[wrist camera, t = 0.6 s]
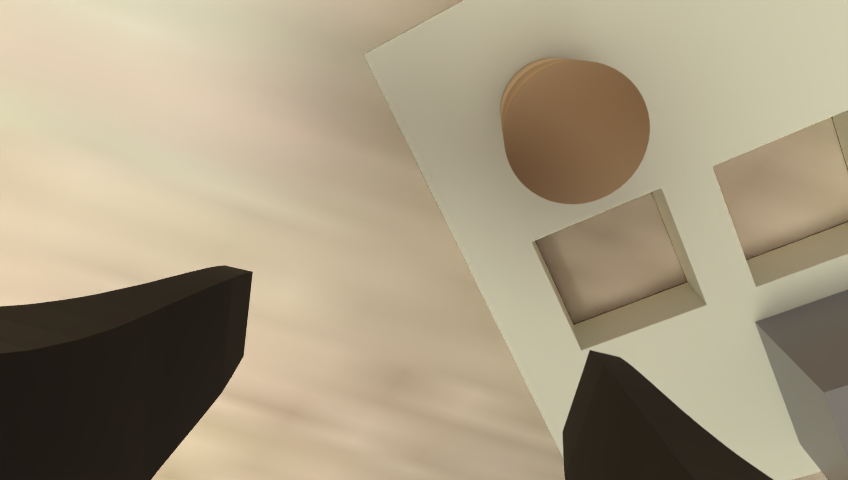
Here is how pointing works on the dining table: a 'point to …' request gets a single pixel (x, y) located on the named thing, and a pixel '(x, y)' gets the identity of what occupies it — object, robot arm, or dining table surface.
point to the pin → (573, 129)
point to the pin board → (636, 189)
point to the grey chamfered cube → (814, 376)
